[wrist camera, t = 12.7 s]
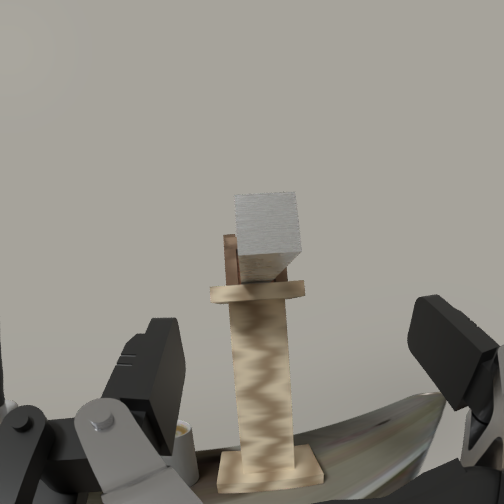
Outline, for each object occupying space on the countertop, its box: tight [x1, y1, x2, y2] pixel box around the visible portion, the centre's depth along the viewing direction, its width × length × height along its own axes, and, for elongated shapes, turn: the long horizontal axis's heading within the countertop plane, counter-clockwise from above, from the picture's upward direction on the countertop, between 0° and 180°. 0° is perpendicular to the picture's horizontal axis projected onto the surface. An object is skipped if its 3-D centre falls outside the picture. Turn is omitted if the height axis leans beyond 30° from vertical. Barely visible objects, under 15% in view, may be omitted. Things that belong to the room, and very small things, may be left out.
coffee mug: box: [160, 420, 199, 487], centre depth 39 cm, size 13×10×10 cm
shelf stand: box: [210, 234, 324, 493], centre depth 43 cm, size 16×14×39 cm
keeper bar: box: [234, 192, 302, 285], centre depth 32 cm, size 7×25×5 cm, turn 1°
